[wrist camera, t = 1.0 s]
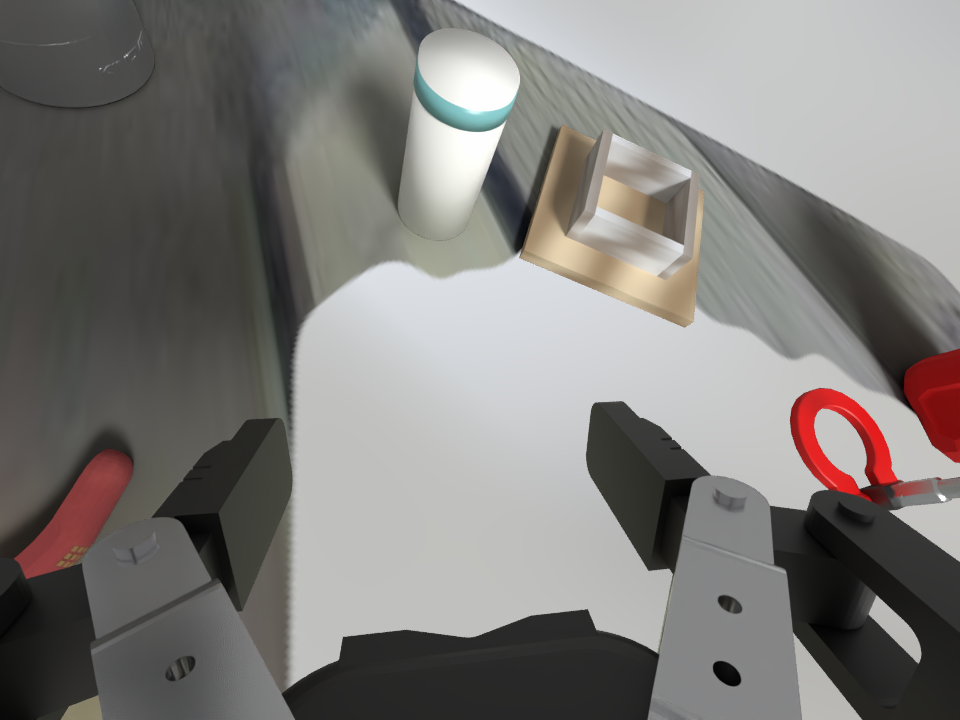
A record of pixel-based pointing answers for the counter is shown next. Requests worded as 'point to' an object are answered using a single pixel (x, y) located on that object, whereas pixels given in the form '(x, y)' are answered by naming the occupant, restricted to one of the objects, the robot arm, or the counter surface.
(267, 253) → the counter surface
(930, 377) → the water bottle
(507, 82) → the cylindrical container
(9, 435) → the counter surface
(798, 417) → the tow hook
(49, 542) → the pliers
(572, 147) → the wooden square holder
